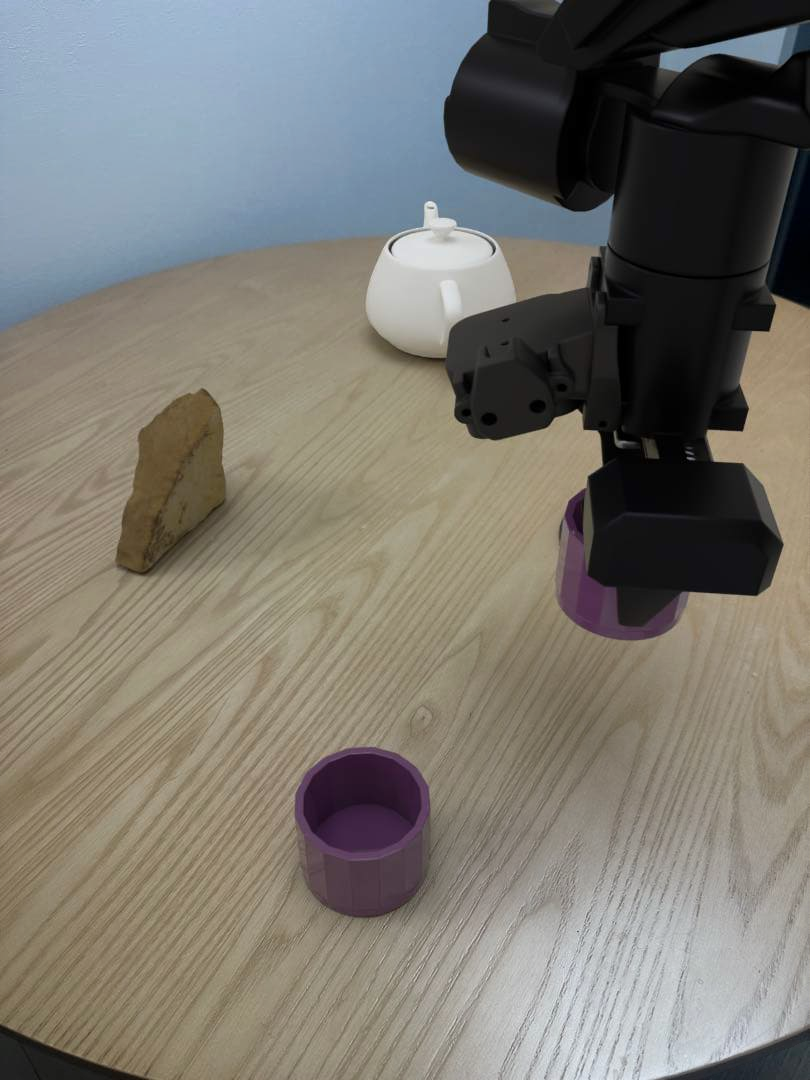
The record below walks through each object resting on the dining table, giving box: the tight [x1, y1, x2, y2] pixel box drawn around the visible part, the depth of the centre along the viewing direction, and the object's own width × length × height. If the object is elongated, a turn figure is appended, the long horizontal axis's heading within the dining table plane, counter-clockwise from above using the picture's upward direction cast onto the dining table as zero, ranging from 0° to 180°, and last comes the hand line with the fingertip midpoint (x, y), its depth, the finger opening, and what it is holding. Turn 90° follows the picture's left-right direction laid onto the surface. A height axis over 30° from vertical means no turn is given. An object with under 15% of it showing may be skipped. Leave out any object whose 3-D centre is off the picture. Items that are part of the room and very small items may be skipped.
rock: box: [114, 387, 227, 574], centre depth 63 cm, size 11×9×10 cm
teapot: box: [365, 200, 517, 359], centre depth 85 cm, size 22×14×11 cm, turn 4°
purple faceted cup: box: [293, 746, 432, 918], centre depth 43 cm, size 6×6×4 cm
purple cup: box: [554, 487, 691, 642], centre depth 43 cm, size 6×6×4 cm
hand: (624, 575), depth 44 cm, fingers closed on purple cup, 6 cm apart
